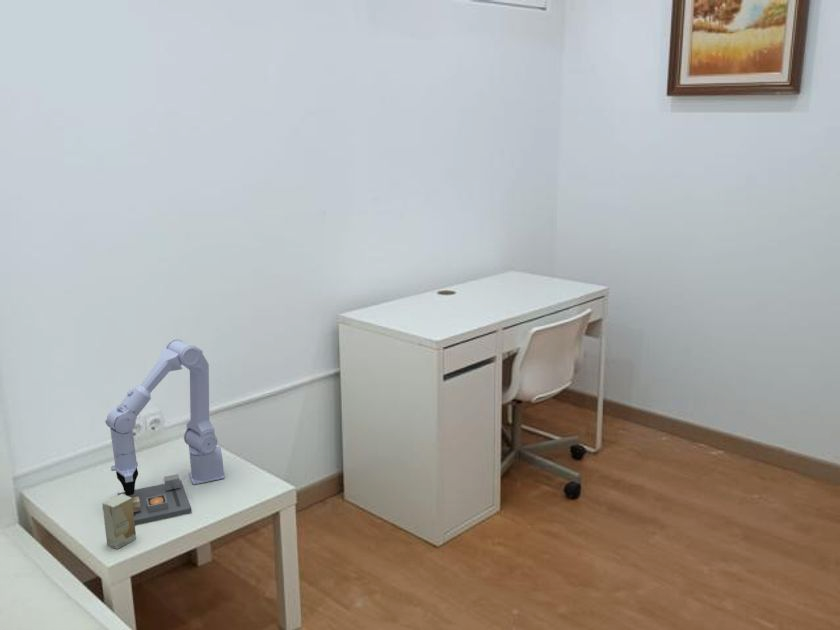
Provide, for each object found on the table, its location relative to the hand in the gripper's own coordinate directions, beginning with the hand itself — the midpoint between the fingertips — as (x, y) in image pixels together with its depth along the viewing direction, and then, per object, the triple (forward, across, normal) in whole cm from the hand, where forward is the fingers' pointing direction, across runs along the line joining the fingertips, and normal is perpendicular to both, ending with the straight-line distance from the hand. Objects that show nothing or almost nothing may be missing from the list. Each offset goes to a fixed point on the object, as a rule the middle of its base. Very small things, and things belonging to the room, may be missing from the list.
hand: (129, 494), depth 223 cm
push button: (+2, +7, +6) cm, 10 cm away
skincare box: (+4, +19, -4) cm, 20 cm away
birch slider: (+1, +7, 0) cm, 7 cm away
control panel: (+3, +3, +6) cm, 7 cm away
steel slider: (+2, -2, +12) cm, 12 cm away
